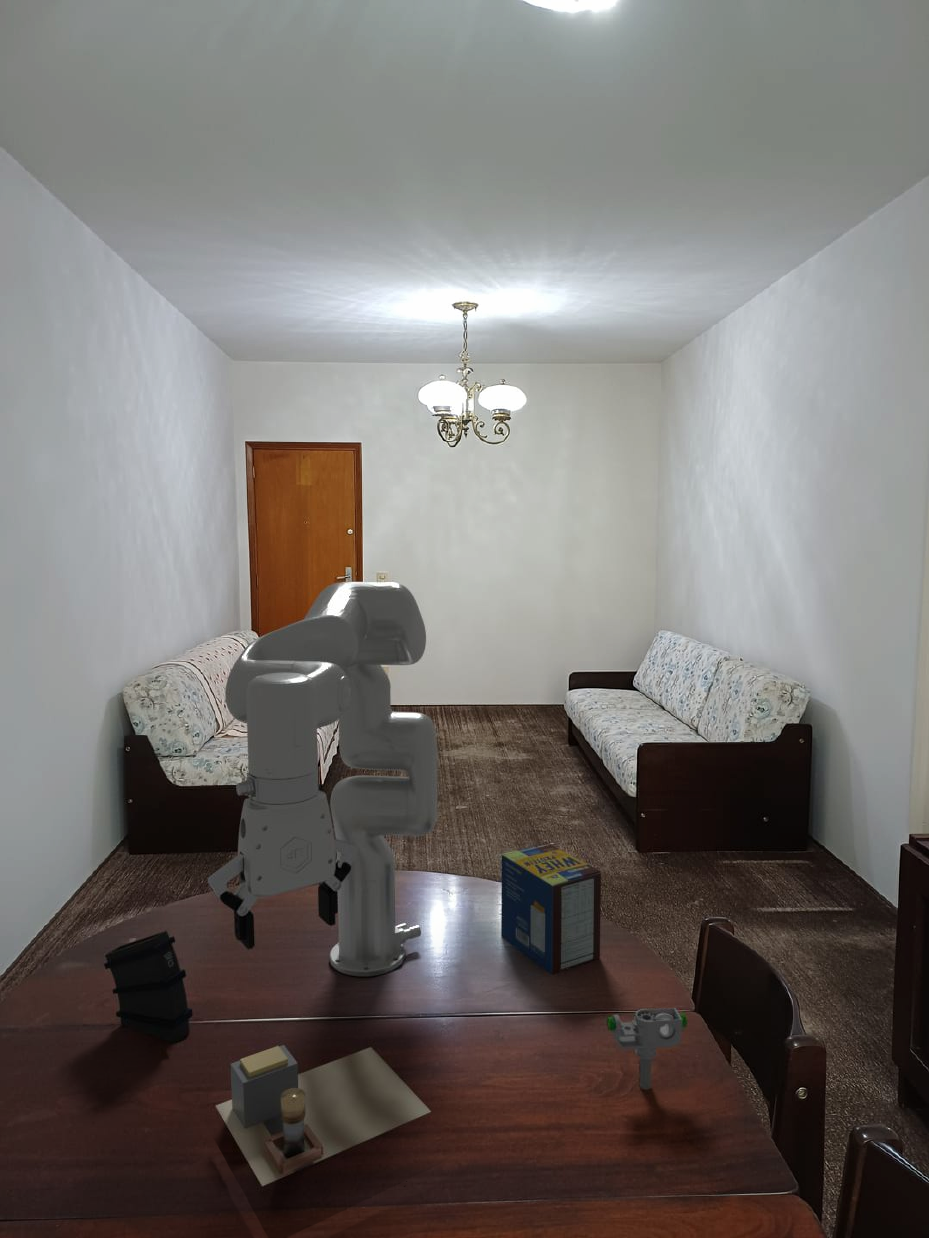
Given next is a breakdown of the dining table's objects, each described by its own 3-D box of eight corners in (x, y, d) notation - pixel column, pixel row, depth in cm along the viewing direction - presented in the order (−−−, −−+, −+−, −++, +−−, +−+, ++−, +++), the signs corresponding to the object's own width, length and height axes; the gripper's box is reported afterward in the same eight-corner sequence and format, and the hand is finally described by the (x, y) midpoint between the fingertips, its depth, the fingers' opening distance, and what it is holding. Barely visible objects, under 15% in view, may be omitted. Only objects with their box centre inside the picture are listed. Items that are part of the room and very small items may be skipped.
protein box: (546, 922, 164) (548, 841, 162) (601, 958, 151) (602, 871, 149) (499, 936, 158) (499, 853, 156) (551, 975, 145) (552, 884, 143)
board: (371, 1054, 124) (370, 1040, 124) (431, 1120, 111) (431, 1103, 111) (215, 1114, 112) (215, 1098, 112) (262, 1195, 99) (261, 1177, 99)
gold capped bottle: (310, 1153, 104) (309, 1097, 103) (287, 1163, 102) (286, 1106, 101) (300, 1139, 106) (299, 1084, 105) (278, 1148, 105) (276, 1093, 104)
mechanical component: (604, 1080, 119) (605, 1010, 118) (679, 1076, 120) (681, 1006, 118) (609, 1095, 116) (611, 1023, 115) (686, 1090, 117) (689, 1019, 115)
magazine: (190, 1040, 125) (151, 939, 126) (129, 1055, 131) (93, 959, 132) (209, 1026, 128) (170, 928, 129) (149, 1041, 134) (112, 947, 135)
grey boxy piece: (285, 1087, 115) (283, 1040, 115) (298, 1107, 112) (297, 1058, 111) (232, 1107, 112) (230, 1059, 111) (244, 1128, 108) (243, 1078, 107)
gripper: (218, 809, 91) (223, 968, 93) (369, 780, 100) (371, 925, 102) (195, 790, 97) (201, 939, 99) (340, 764, 106) (342, 901, 108)
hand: (287, 932), depth 101 cm, fingers open, 9 cm apart
